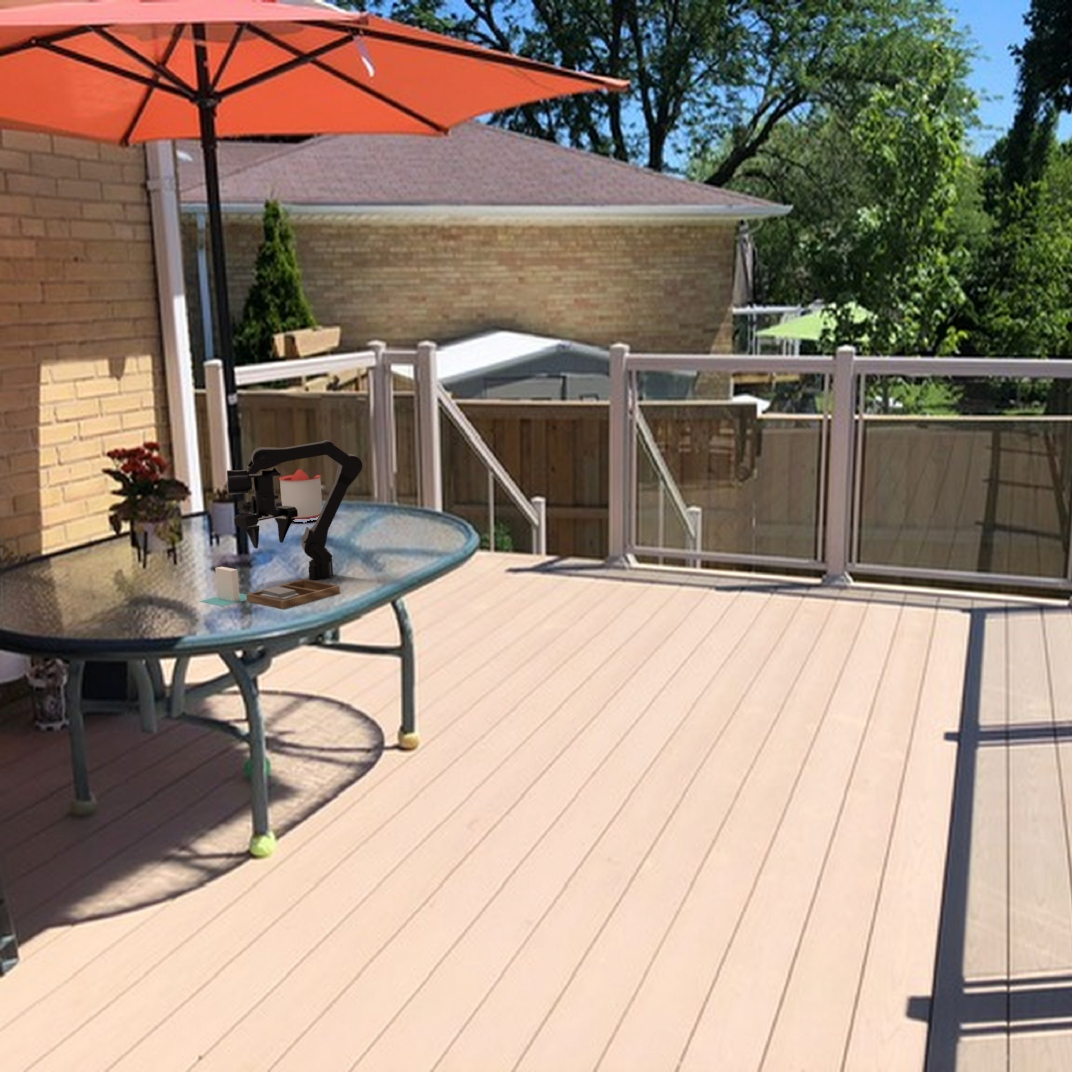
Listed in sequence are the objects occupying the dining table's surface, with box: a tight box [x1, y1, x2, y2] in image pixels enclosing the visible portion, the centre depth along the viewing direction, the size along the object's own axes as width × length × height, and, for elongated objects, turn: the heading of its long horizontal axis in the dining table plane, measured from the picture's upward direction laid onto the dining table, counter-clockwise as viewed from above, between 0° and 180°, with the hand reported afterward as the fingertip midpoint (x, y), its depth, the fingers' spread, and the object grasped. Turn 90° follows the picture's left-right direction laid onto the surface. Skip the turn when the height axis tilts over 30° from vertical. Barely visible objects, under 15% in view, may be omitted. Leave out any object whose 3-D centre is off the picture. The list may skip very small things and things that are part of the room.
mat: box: [199, 592, 247, 607], centre depth 304 cm, size 12×10×1 cm
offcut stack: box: [260, 585, 299, 600], centre depth 299 cm, size 6×11×3 cm, turn 53°
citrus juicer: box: [279, 468, 323, 519], centre depth 422 cm, size 16×17×20 cm
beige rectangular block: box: [214, 566, 240, 601], centre depth 303 cm, size 2×7×8 cm, turn 52°
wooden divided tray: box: [245, 579, 341, 610], centre depth 304 cm, size 20×15×3 cm
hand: (268, 545), depth 319 cm, fingers open, 9 cm apart
